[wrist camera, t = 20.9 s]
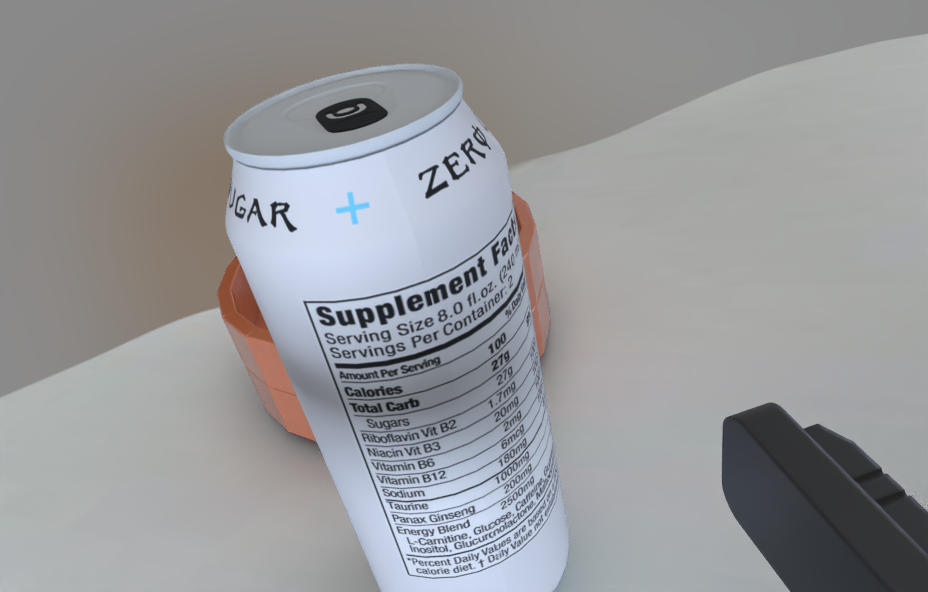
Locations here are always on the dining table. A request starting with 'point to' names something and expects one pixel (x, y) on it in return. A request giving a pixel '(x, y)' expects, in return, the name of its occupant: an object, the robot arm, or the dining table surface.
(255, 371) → the bowl
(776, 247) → the dining table surface
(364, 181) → the energy drink can
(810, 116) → the dining table surface
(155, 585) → the dining table surface
